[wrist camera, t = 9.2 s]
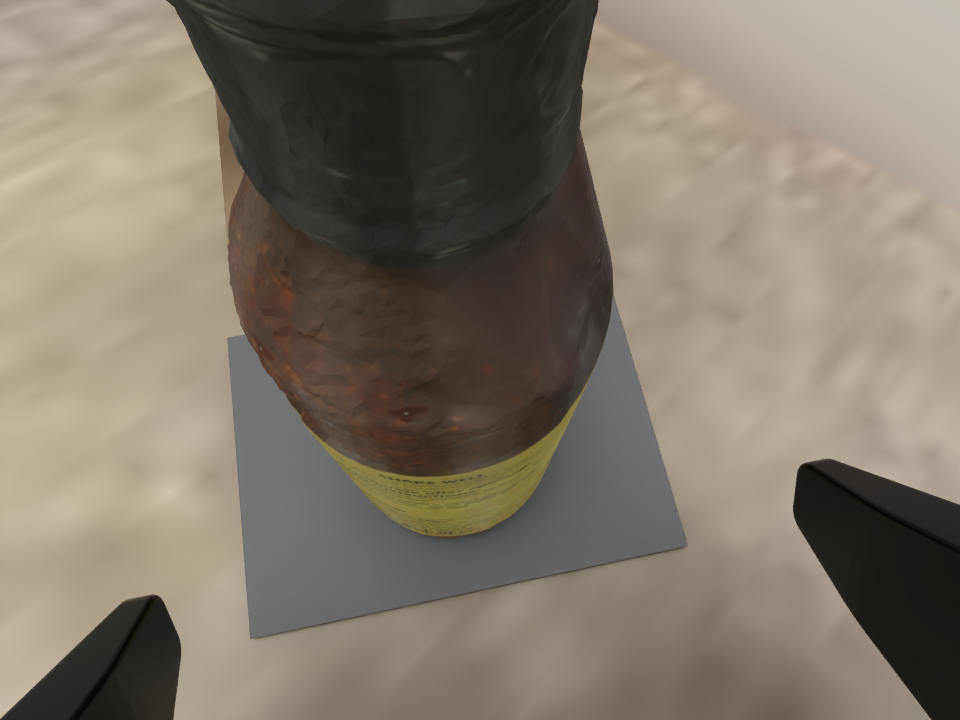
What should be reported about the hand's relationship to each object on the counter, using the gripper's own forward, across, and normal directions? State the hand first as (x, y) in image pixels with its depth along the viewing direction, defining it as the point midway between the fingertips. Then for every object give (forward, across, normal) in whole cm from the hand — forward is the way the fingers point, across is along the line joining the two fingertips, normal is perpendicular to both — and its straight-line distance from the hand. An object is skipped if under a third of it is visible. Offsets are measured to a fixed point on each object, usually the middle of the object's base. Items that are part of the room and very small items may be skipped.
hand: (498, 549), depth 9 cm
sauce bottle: (+12, 0, +6) cm, 13 cm away
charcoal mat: (+12, 0, +6) cm, 14 cm away
